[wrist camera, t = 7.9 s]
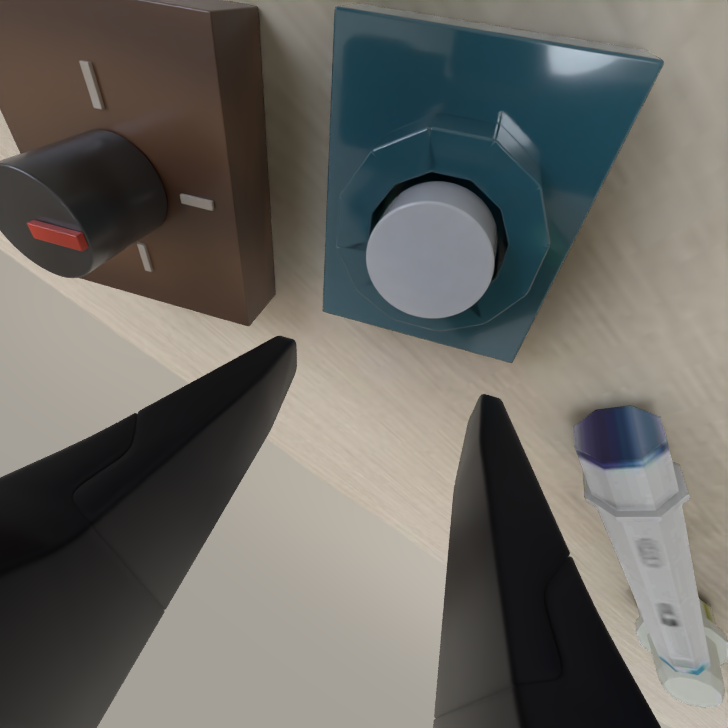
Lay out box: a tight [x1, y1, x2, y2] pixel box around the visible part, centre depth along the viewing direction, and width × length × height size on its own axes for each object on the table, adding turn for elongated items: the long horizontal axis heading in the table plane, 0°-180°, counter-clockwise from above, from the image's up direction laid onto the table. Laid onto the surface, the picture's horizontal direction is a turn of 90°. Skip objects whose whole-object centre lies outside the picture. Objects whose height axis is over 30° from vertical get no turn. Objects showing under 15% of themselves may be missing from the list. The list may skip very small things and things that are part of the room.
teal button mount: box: [323, 3, 664, 363], centre depth 15 cm, size 11×9×4 cm
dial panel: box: [0, 0, 275, 326], centre depth 18 cm, size 12×10×3 cm
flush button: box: [366, 181, 498, 318], centre depth 13 cm, size 4×4×2 cm
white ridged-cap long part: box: [574, 406, 728, 708], centre depth 25 cm, size 5×7×25 cm
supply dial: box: [0, 129, 167, 278], centre depth 15 cm, size 4×4×4 cm
